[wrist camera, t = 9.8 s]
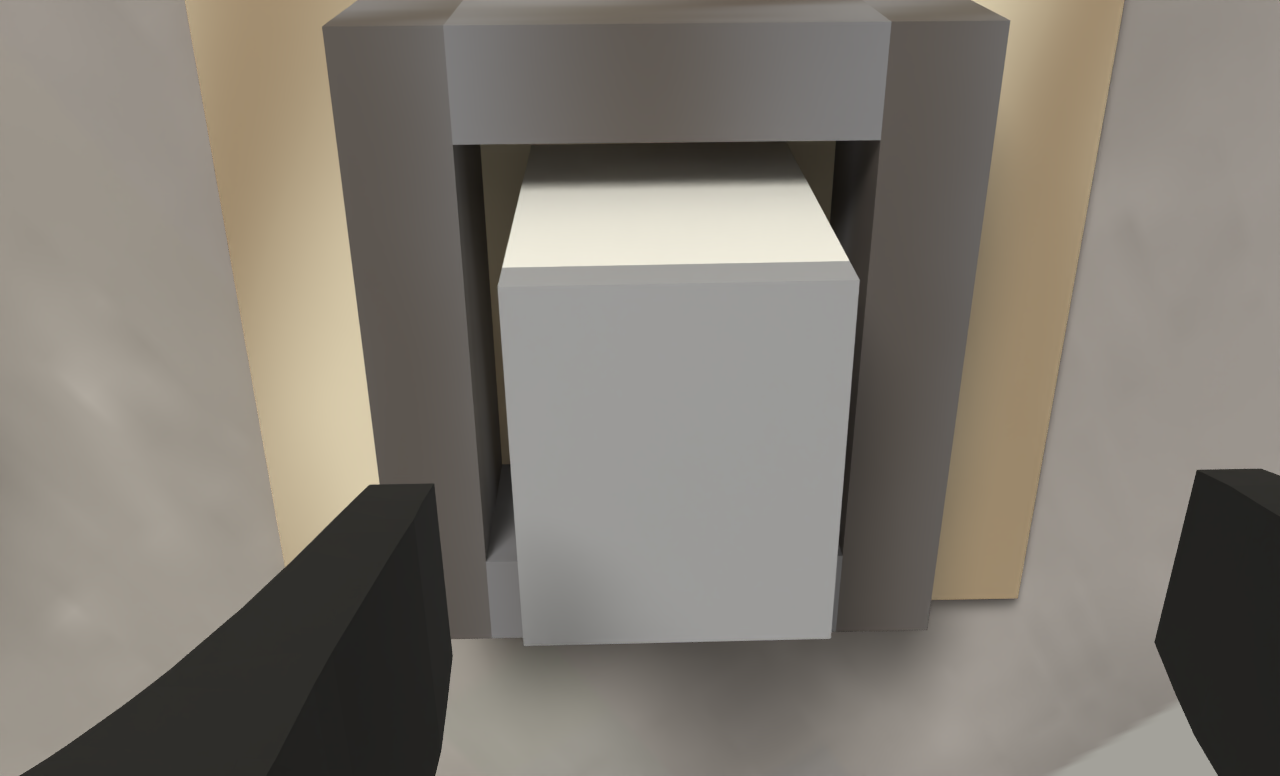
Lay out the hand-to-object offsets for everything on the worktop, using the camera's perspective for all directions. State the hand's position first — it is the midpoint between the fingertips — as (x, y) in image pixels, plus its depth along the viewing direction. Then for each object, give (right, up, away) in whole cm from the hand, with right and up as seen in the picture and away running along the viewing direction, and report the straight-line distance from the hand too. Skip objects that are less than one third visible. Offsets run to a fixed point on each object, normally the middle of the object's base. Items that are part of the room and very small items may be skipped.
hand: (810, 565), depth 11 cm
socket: (-1, +4, +9) cm, 9 cm away
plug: (-1, +3, +8) cm, 9 cm away
